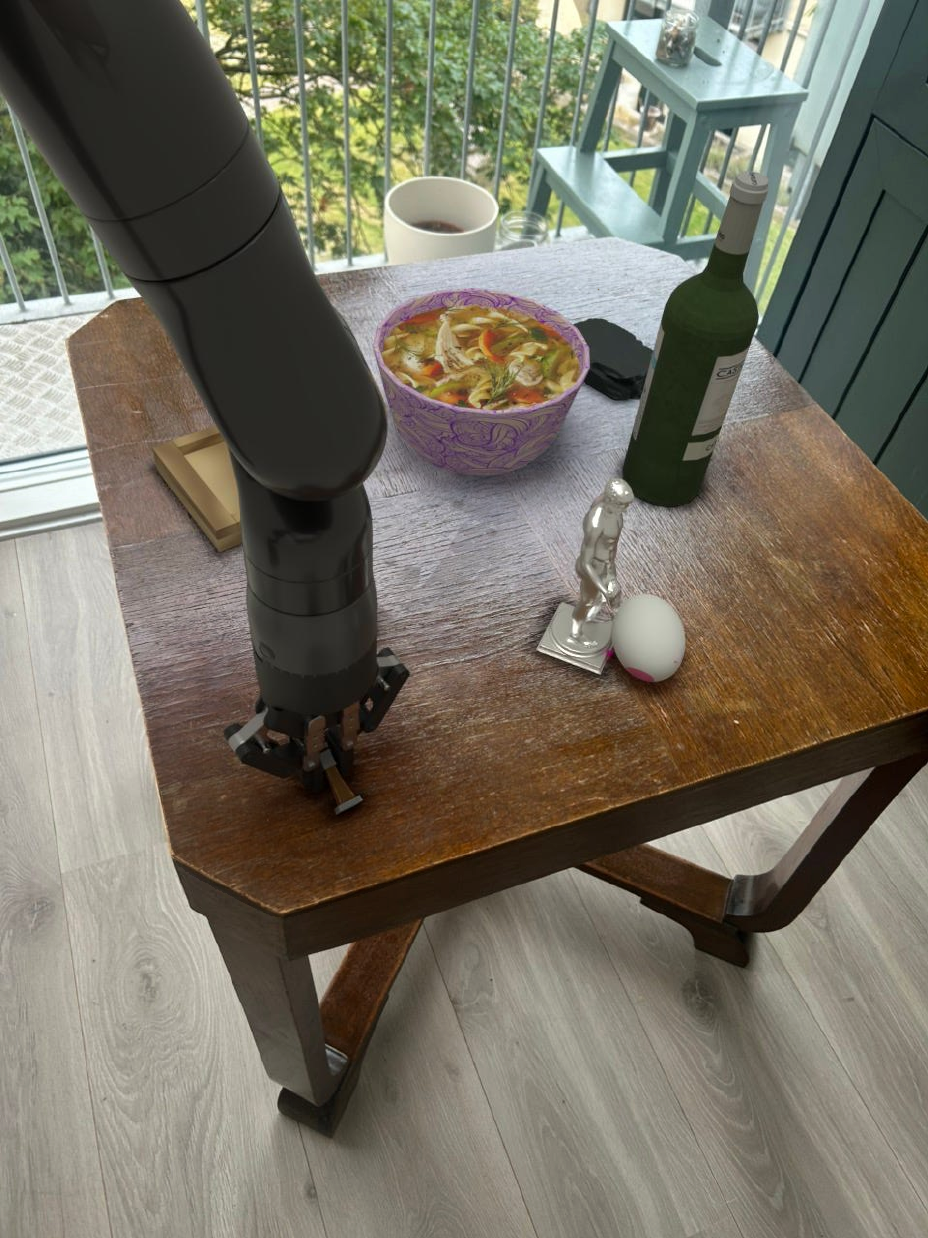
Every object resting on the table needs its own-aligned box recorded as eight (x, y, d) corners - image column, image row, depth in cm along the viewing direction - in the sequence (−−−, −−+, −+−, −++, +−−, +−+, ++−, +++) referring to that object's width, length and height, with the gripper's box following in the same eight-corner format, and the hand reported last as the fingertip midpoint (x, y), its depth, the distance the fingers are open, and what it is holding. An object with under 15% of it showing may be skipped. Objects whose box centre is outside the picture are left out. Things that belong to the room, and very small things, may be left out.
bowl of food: (518, 372, 105) (532, 274, 96) (606, 487, 93) (631, 388, 85) (345, 406, 99) (342, 305, 90) (416, 534, 87) (421, 432, 78)
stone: (620, 410, 102) (625, 387, 100) (542, 356, 107) (546, 333, 105) (670, 383, 106) (676, 360, 103) (593, 332, 111) (597, 310, 109)
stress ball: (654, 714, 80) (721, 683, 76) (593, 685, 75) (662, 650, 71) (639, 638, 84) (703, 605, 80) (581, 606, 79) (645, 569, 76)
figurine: (589, 699, 76) (637, 539, 63) (516, 660, 78) (547, 496, 65) (634, 634, 81) (687, 472, 68) (563, 599, 83) (601, 434, 70)
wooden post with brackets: (304, 712, 72) (313, 698, 68) (351, 808, 71) (363, 799, 67) (282, 722, 71) (290, 708, 67) (330, 819, 70) (340, 810, 66)
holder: (219, 552, 84) (215, 530, 82) (156, 469, 90) (151, 446, 88) (318, 512, 88) (317, 490, 86) (251, 435, 94) (249, 413, 92)
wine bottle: (697, 514, 92) (806, 210, 69) (616, 498, 92) (697, 191, 70) (702, 463, 97) (804, 165, 74) (625, 448, 98) (703, 147, 75)
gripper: (377, 541, 62) (376, 699, 75) (179, 628, 56) (215, 783, 69) (444, 615, 58) (430, 768, 71) (239, 717, 52) (265, 863, 65)
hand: (324, 775), depth 70 cm, fingers closed on wooden post with brackets, 1 cm apart
